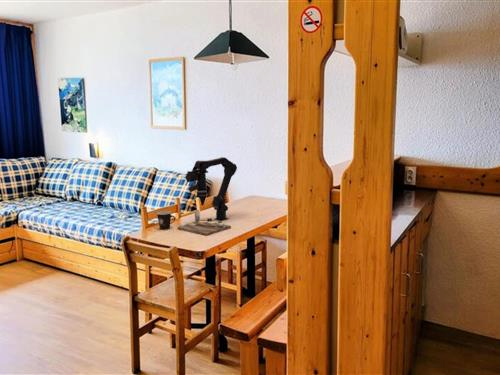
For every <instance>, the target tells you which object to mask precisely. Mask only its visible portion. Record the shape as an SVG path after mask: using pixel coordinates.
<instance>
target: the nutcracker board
mask: <svg viewBox="0 0 500 375" xmlns="http://www.w3.org/2000/svg"><path fill="white" fill-rule="evenodd" d="M206 219H207V220H206V221H209V222H213V219H212V218H210V217H209V218H206ZM200 221H205V220H204V219H203V220H202V219H200ZM231 228H232V226H231V225H229V224H225V223H224V226H222V227H218V226H215V225H204V224H197V222H196V221H194V222H191V223H186V224H183V225H180V226H177V230H180V231H184V232H189V233H193V234H197V235H200V236H201V235H202V236H206V237H207V236H212V235H214V234H216V233H220V232H223V231H227V230H229V229H231Z"/></svg>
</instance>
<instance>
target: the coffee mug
mask: <svg viewBox="0 0 500 375" xmlns="http://www.w3.org/2000/svg"><path fill="white" fill-rule="evenodd" d="M156 216H157V219H158V220H157V221H158V225H159V230H163V231H165V230H169V229H171V225H172V224H173V223H174V222H175V220H176V217H175V216H174V215H172V212H171V211H169V210H168V211H166V210H165V211H159V212H157V213H156ZM172 217H173V220H172V219H171V218H172ZM171 220H172V221H171Z"/></svg>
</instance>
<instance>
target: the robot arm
mask: <svg viewBox="0 0 500 375" xmlns="http://www.w3.org/2000/svg"><path fill="white" fill-rule="evenodd" d="M219 165H221V166H222V167H223V168H224V169H223V174H224V176H223V178H222V182H221V185H220V188H219V190H218V193H217V195H216V196H213V199H212V201H211V203H212V204H211V205H212V207H213V208H214V210H215V212H216V213H215V215H216V216H215V217H214V219H215V220H217V219H218V220H217V221H224V220H228V219H229V217H227V211H228V210H229V207H228V206H227V205H226V202H227V201H226V194H227V192H228V189H229V185H230V182H231V179H232V177H233V176H234V175H235V174H236V172H237V170H238V167H237V164H235V163H234V162H233V161H230V160H229V159H228V158H226V157H223V156H222V157H218V158H214V159H209V160H196V161H195V163H194V166H193V168H192V169H191V170H190V171H189V170H188V171H187V172H186V174H185V180H186V182H187V183H193V182H196V183H195V184H193V185H192V184H191V185H190V186H188V191H189V192H190V193H193V192H194V191H196V196H197V197H198V198H199V202H200V203H201V204H200V206H204V204H205V201H206V198H207V197H208V196H207V195H208V194H207V193H208V188H207V176H206V174H208V173H209V171H208V170H207V169H209V168H210V167H215V166H219Z"/></svg>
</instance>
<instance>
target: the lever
mask: <svg viewBox="0 0 500 375" xmlns="http://www.w3.org/2000/svg"><path fill="white" fill-rule="evenodd" d="M200 213H201V212H200V209H195V210H194V220H195V221H194V222H197V224H204V225H215V226H218V227H222V226H224V224H225V222H224V221H223V220H217V221H212V222H209V221H207V220H204V221H200V220H201V215H200Z"/></svg>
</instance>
